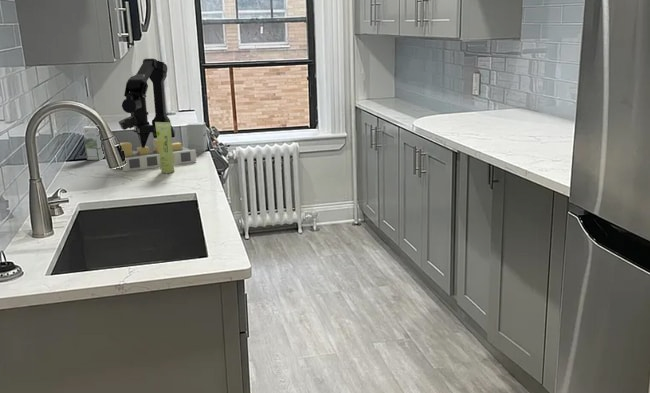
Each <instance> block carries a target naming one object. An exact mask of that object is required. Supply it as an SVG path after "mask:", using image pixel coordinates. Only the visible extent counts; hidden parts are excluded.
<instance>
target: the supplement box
mask: <svg viewBox="0 0 650 393" xmlns="http://www.w3.org/2000/svg"><path fill="white" fill-rule="evenodd" d="M186 137H187V149H190V150H196V153H204V152H206V151H207V150H208V142H207V140H208V139H207V126H206V122H202V121H201V122H200V121H199V122H189V123H188V124H186ZM206 149H207V150H206ZM203 151H204V152H203Z"/></svg>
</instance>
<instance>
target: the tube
mask: <svg viewBox="0 0 650 393" xmlns="http://www.w3.org/2000/svg"><path fill="white" fill-rule="evenodd" d="M171 125H172V122H171V121H170V122H155V126H156V132H157V138H156V139H157V140H158V147H159V155H160V164H161V166H160V170H161V173H162V174H163V173H164V174H171V173H174V172H175V165H174V161H173V150H172V143H173V139H172V138H173V137H172V136H171Z"/></svg>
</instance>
